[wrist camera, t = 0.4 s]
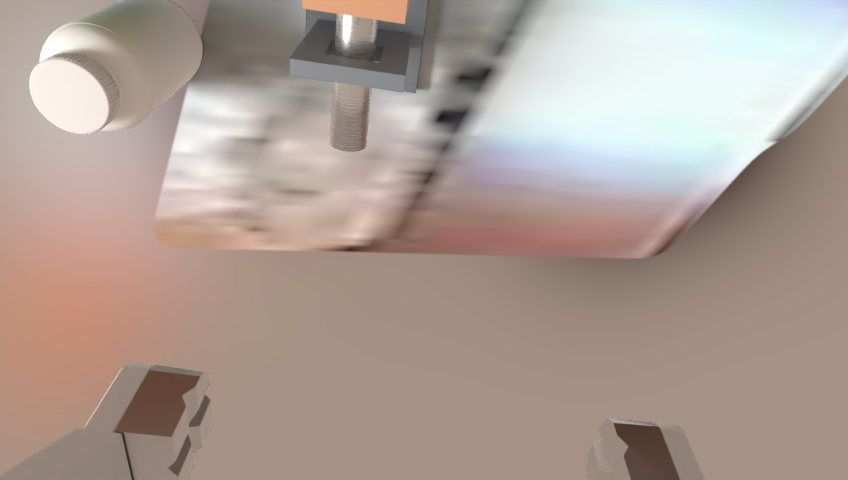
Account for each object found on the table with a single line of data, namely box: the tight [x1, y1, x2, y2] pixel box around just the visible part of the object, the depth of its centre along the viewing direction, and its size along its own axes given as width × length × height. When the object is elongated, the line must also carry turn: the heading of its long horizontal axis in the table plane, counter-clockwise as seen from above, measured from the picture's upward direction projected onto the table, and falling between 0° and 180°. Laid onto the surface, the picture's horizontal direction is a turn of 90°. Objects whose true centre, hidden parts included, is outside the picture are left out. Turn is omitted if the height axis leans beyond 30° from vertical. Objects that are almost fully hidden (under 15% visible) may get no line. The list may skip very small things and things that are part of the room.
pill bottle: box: [29, 0, 203, 134], centre depth 45 cm, size 8×8×15 cm
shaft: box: [330, 14, 378, 152], centre depth 42 cm, size 18×3×3 cm, turn 172°
